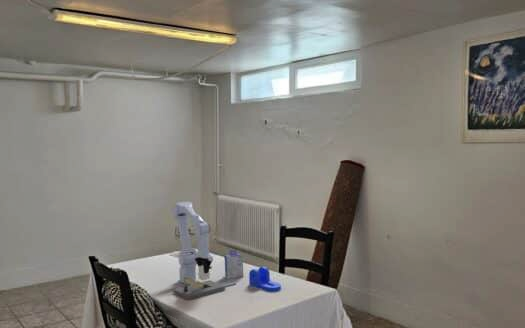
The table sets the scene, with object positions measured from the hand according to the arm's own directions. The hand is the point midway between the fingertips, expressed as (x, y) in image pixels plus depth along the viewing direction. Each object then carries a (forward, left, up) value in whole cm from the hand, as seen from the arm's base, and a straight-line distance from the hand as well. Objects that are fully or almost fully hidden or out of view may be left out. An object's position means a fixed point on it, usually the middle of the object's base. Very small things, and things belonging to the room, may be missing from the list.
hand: (203, 272), depth 245 cm
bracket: (+18, +27, -10) cm, 34 cm away
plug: (0, +1, -3) cm, 4 cm away
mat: (-1, +13, -10) cm, 16 cm away
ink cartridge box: (-9, +26, -10) cm, 29 cm away
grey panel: (0, -3, -10) cm, 10 cm away
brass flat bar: (+6, -11, -7) cm, 14 cm away
